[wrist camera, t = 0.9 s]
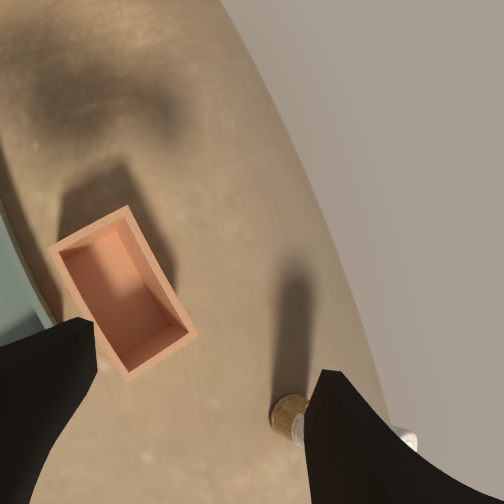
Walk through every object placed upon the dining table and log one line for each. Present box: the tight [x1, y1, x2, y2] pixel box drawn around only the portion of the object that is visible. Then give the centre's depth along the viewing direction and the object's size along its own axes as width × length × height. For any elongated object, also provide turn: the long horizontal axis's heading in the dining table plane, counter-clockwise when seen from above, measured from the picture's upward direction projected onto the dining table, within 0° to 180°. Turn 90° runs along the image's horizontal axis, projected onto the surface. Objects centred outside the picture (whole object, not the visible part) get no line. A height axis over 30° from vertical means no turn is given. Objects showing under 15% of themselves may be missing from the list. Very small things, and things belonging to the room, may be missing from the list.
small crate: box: [48, 205, 200, 383], centre depth 20 cm, size 6×9×6 cm, turn 33°
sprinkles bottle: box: [270, 394, 417, 452], centre depth 22 cm, size 5×5×14 cm
